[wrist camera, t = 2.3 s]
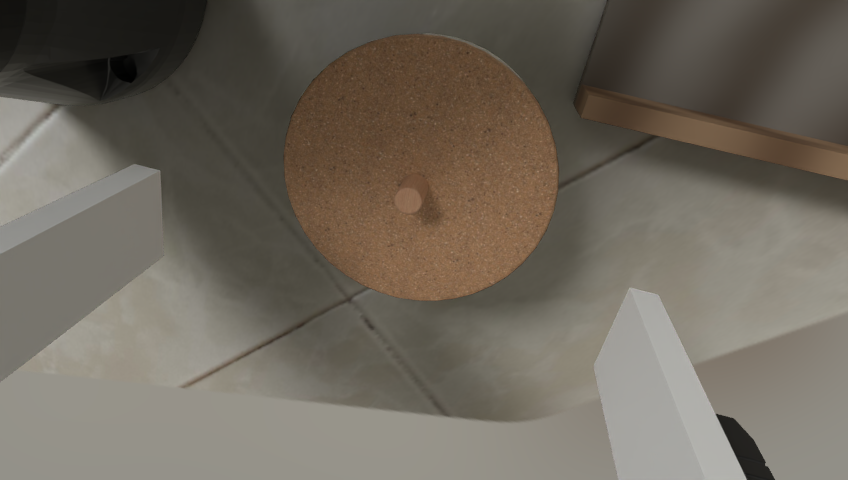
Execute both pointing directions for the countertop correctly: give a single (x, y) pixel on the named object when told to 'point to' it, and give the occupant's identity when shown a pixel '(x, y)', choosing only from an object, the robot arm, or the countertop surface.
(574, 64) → the countertop surface
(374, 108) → the lidded jar
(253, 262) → the countertop surface
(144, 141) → the countertop surface
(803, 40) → the holder
